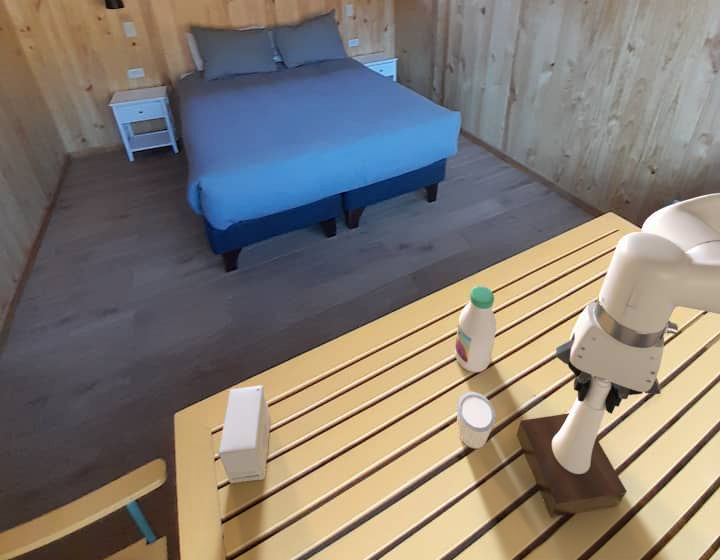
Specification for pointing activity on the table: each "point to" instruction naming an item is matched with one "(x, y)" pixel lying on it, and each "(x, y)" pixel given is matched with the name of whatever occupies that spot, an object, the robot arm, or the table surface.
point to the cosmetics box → (245, 435)
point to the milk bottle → (476, 331)
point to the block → (561, 485)
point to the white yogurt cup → (474, 419)
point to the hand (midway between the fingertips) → (594, 397)
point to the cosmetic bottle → (581, 428)
